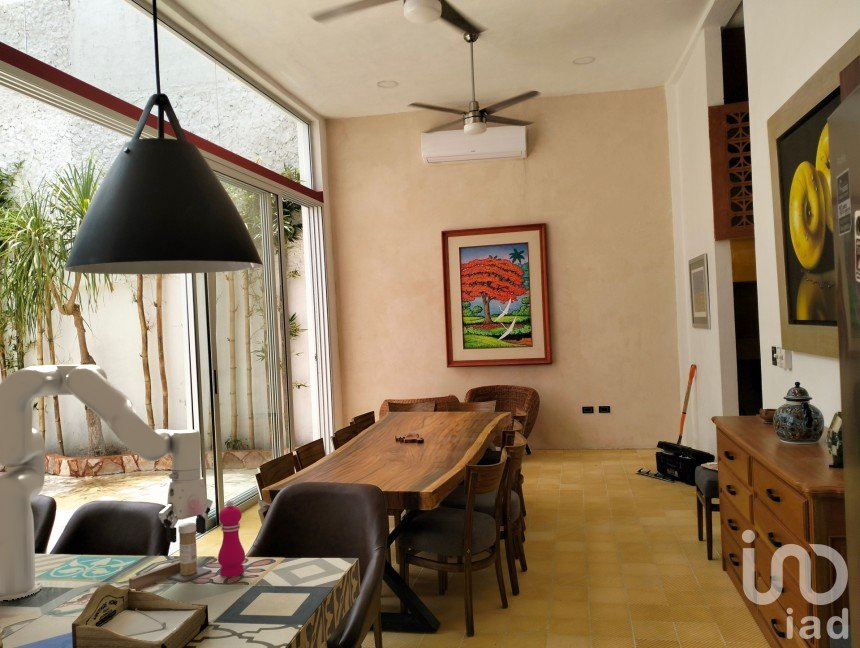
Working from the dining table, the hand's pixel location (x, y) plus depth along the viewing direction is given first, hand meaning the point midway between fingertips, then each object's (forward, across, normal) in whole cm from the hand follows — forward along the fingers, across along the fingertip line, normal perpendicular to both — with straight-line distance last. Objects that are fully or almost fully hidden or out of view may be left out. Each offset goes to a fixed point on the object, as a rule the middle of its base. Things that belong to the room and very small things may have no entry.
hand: (186, 537), depth 189 cm
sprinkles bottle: (+10, 0, 0) cm, 10 cm away
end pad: (+10, +1, -1) cm, 10 cm away
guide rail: (+11, -6, +4) cm, 13 cm away
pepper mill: (+10, +7, -11) cm, 16 cm away
